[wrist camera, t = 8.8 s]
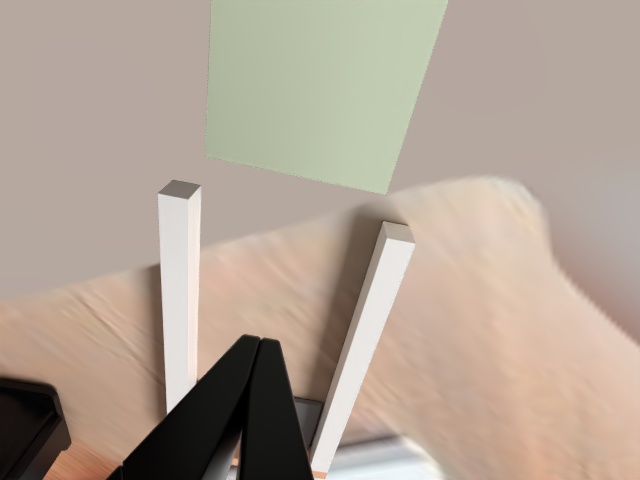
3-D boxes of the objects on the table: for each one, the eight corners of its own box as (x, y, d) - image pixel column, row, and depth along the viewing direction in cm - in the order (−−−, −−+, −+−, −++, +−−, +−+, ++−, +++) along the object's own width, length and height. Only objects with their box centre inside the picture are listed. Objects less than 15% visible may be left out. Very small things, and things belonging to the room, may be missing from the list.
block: (247, 117, 14) (204, 156, 10) (262, -42, 11) (214, -87, 7) (371, 145, 14) (386, 195, 10) (413, -5, 12) (457, -26, 7)
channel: (177, 425, 24) (168, 448, 23) (173, 179, 15) (157, 193, 14) (327, 449, 25) (327, 472, 24) (409, 226, 16) (415, 243, 14)
